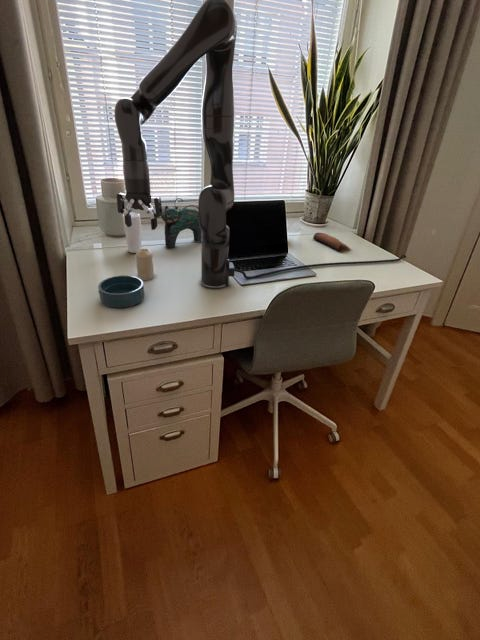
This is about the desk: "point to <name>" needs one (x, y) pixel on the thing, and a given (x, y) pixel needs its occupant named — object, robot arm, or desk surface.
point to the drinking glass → (133, 233)
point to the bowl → (121, 291)
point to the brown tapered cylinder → (331, 241)
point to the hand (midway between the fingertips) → (141, 227)
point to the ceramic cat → (180, 223)
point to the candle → (144, 264)
